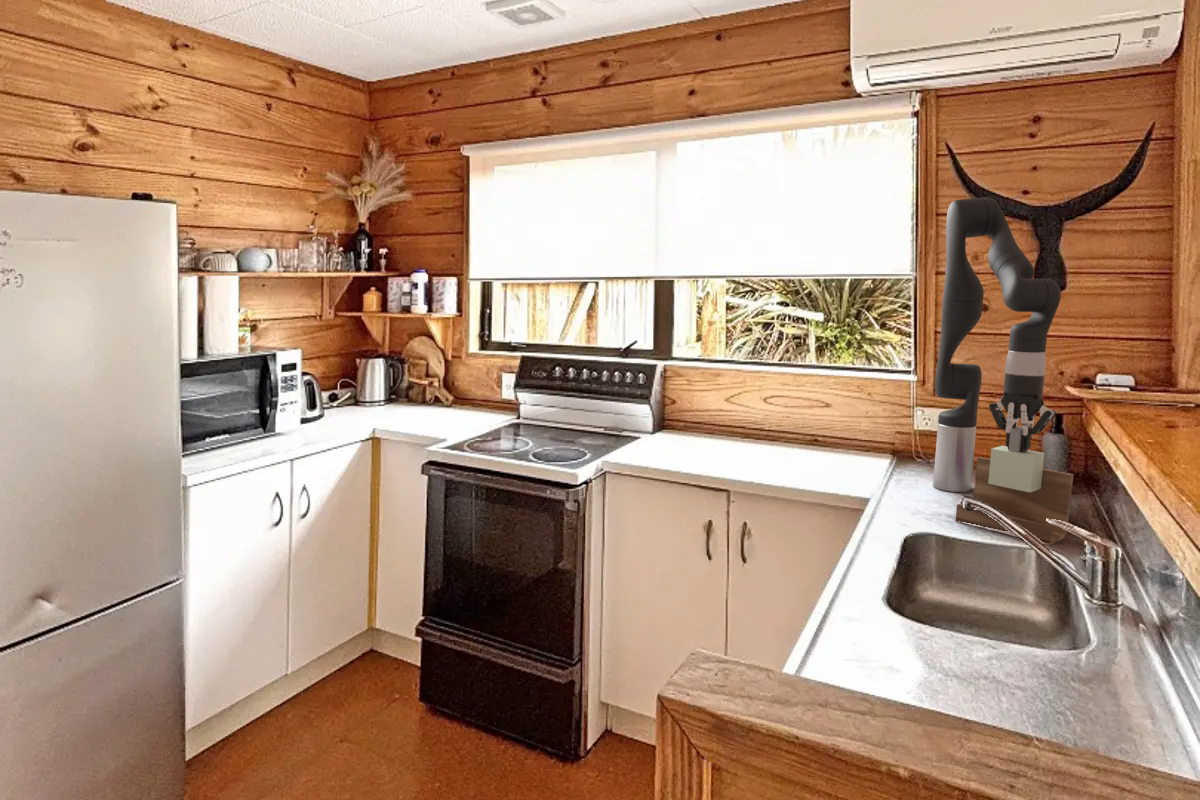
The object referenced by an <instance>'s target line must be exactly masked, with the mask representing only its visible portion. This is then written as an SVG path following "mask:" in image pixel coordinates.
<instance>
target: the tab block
mask: <svg viewBox="0 0 1200 800" xmlns="http://www.w3.org/2000/svg"><path fill="white" fill-rule="evenodd" d="M1021 435H1023V434H1022V426H1017V427H1016V428H1012V429H1011V430H1010V441H1009V450H1008V447H1006V445H999V446H997V447H992V448H990V458H989V459H990V470H989V481H988V484H993V485H997V486H1002V487H1007V488H1011V489H1016V490H1021V491H1026V492H1030V493H1031V492H1033V491H1036V490H1039V489H1041V482H1042V472H1043V469H1044V461H1045V452H1040V451H1034V450H1030V449H1028V450H1027V452H1020V446H1021Z"/></svg>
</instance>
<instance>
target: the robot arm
mask: <svg viewBox="0 0 1200 800" xmlns="http://www.w3.org/2000/svg"><path fill="white" fill-rule="evenodd" d="M945 224H946V225H945V229H946V231H945V235H946V236H945V239H946V240H945V241H946V242H945V243H946V244H945V245H946V248H945V250H946V251H945V252H946V257H945V259H946V260H945V274H944V275H945V276H944V277H945V278H944V285H943V294H942V305H941V323H940V325H941V328H940V340H939V341H940V342H939V348H938V357H937V362H936V363H937V364H936V370H935V378H934V379H935V380H934V390H935V395H936V396H937V397H938V398H941V399H951V400H952V399H953V400H965V401H964V402H963V404H961V405H959V406H957V407H955V408H951V409H948V410H943V411H941V412H939V414H938V417H937V418H938V419H937V432H936V443H935V444H936V445H935V454H934V455H935V457H934V470H933V480H932V481H933V483H932V486H933V487H934V488H935V489H937V490H938V489H939V490H941V491H944V492H945V491H947V492H953V493H966V492H967V493H968V492H970V491H971V490H972V486H973V475H974V474H973V473H974V463H975V462H974V461H975V446H976V434H977V424H978V423H977V421H978V420H977V419H978V408H979V399H980V393H981V386H982V379H983V378H982V375H983V374H982V368H981V367H980V366H979V365H977V364H971V363H970V364H969V363H953V362H951V361H952V359H953V357H954V354H955V352H956V350H957V348H959V346H960V344H961V343H962V341H964V340H965V338H967V336H968V335H969V333H970V332H971V331H972V330H973V329H974V328H975V326H976V325H977V324H978V323H979V321H980V319H981V317H982V314H983V306H984V305H983V304H984V294H985V293H984V287H983V285H982V282H981V281H980V279H979V276H978V275H977V274H976V272H975V271H974V269H973V267H972V265H971V264H970V261H969V260H968V256H967V250H966V240H967V239H969V238H980V237H984V236H985V237H986V236H987V237H988V238H989V239H990V240H991V241H992V242H991V245H990V248H989V250H988V253H987V254H988V255H987V260H988V262H987V263H988V264H989V265H988V266H989V268H990V269H991V271H992V272H993V274H994V275H995V277H996V278H997V280H998V281H999V283H1000V287H1001V293H1002V299H1003V302H1004V304H1005V306H1006V307H1007V308H1008V309H1010V310H1011V311H1013V312H1016V313H1017V312H1018V313H1019V312H1020V313H1031V315H1030V317H1029V319H1028V320H1027V321H1024V322H1020V323H1015V324H1013V325H1012V326H1011V327H1010V331H1009V340H1008V342H1009V343H1008V350H1007V351H1008V352H1007V357H1006V360H1005V366H1004V381H1003V395H1002V396H1001V398H1000V400H999V401H996V402H991V403H989V405H988V408H989V410H990V413H991V414H992V417H993V419H994V421H995V425H996V426H997V428H998V429H1000V430H1003V431H1005V432H1006V434H1005V435H1006V437H1005V439H1006V440H1005V446H1006V447H1008V450H1009V441H1010V430H1011V429H1012V428H1016V427H1018V423H1019V421H1020V420H1021V421H1020V423H1021V425H1022V426H1021V427H1022V434H1023V435H1021V446H1020V452H1027V450H1030V449H1031V447H1032V446H1031V445H1032V436H1033V435H1036V434H1039V433H1042V432H1043V430H1044V429H1045V428H1046V426H1047V425H1048V424H1049V423H1050V422H1051V420H1052V419H1053V418H1054V417H1055V415H1056V411H1055V410H1054V409H1050V408H1049V407H1047V406H1045V402H1044V400H1043V394H1044V385H1045V377H1046V376H1045V375H1046V364H1047V361H1046V350H1047V341H1048V340H1047V339H1048V333H1049V330H1050V328H1051V325H1052V323H1053V320H1054V318H1055V316H1056V313H1057V311H1058V308H1059V305H1060V302H1061V297H1062V293H1061V292H1062V291H1061V288H1060V285H1059V284H1058V283H1057V282H1056V280H1053V279H1051V278H1034V275H1035V268H1034V266H1033V264H1032V263H1031V261H1030V259H1029V258H1028V257H1027V256H1026V255H1025V253H1024V252H1023V250H1022V249H1021V248H1020V247H1019V245H1018V243H1017V242H1016V240H1015V238H1014V235H1013V233H1012V231H1011V227H1010V226H1009V223H1008V221H1007V218H1006V217H1005V214H1004V212H1003V209H1002V207H1001V206H1000V205H999V203H998V202H997V201H996V200H995V199H994V198H992V197H987V196H985V197H973V198H960V199H955V200H953V201H952V202H951V203H950V204H949V206H948V209H947V214H946V222H945ZM1003 410H1004V411H1005V412H1006V414H1007V415H1006V416H1005V414H1004V412H1003ZM1039 412H1040V413H1039ZM1038 413H1039V416H1040V418H1039V419H1038V421H1037V422H1036V423H1035V416H1036V415H1037V414H1038Z"/></svg>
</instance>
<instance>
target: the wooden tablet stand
mask: <svg viewBox="0 0 1200 800" xmlns="http://www.w3.org/2000/svg"><path fill="white" fill-rule="evenodd" d="M975 468H976V469H975V470H976V471H975V481H974V492H973V500H974V499H977V500H979V501H982V502H984V503H987V504H989V505H992V506H993V507H996V508H997V509H999V510H1000V511H1002V512H1003V513H1005V514H1006V515H1007V516H1008V517H1009V518H1011V519H1012V520H1013V521H1015V522H1016V523H1018V524H1019V525H1021V526H1022V527H1024V528H1025V529H1027V530H1028V531H1029V532H1031V533H1032V534H1033V535H1035V536H1036V537H1037V538H1039V539H1040V540H1041V541H1042V542H1044V543H1045V544H1047V545H1046V546H1048V545H1049V544H1051V545H1053V544H1055V543H1058V542H1059V541H1061V540H1062V541H1063V539H1066V538H1068V531H1067V532H1066V531H1065V530H1063V529H1062V528H1060V527H1058V526H1055V525H1052V524H1050V523H1048V522H1047V521H1046V518H1050V519H1056V520H1061V521H1065V522H1068V523H1069V519H1070V510H1071V509H1070V508H1071V500H1072V491H1073V482H1074V473H1068V472H1063V471H1058V470H1051V469H1049V468H1048V469H1047V468H1043V472H1042V482H1041V489H1039V490H1036V491H1033V492H1031V493H1030V492H1026V491H1021V490H1016V489H1011V488H1007V487H1002V486H997V485H993V484H988V481H989V470H990V458H989V457H988V458H987V457H982V456H978V457H977V459H976V467H975ZM962 505H963V504H961V503H958V504H956V509H955V510H956V511H955V512H956V514H955V522H956V521H960V522H966V523H971V524H976V525H980V526H983V527H988V528H993V529H998V530H1002V531H1008V530H1006V529H1005V528H1004V527H1003V526H1001V525H1000V524H999V523H998V522H997V521H995V520H994V519H992V518H991V517H989V516H988V515H987V514H985V513H983V512H982V511H980V510H972V511H967V510H965V509H964V508H963V506H962ZM1049 546H1050V545H1049Z"/></svg>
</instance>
